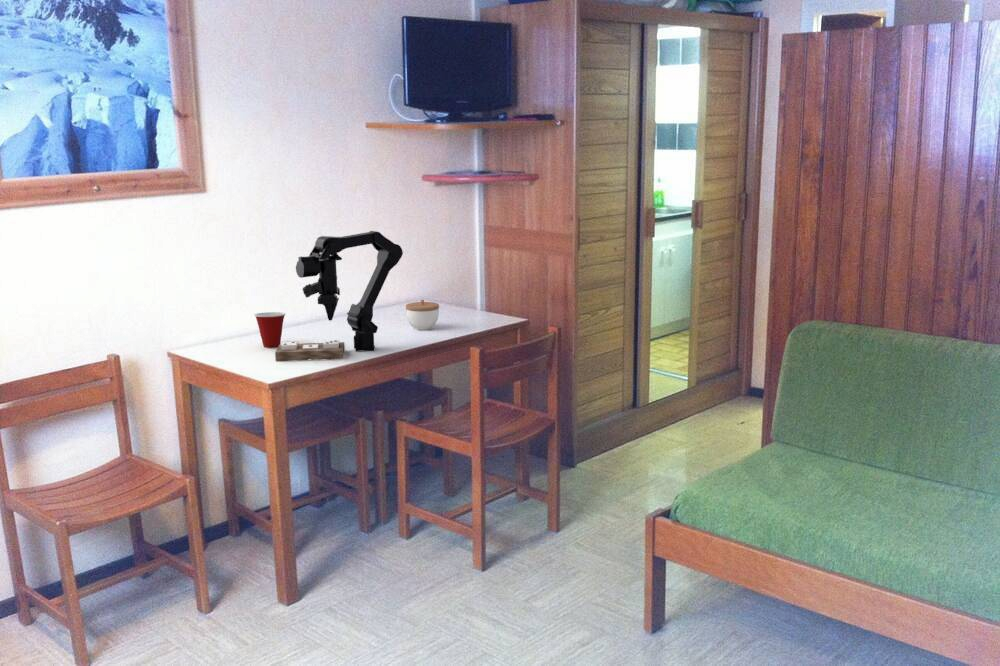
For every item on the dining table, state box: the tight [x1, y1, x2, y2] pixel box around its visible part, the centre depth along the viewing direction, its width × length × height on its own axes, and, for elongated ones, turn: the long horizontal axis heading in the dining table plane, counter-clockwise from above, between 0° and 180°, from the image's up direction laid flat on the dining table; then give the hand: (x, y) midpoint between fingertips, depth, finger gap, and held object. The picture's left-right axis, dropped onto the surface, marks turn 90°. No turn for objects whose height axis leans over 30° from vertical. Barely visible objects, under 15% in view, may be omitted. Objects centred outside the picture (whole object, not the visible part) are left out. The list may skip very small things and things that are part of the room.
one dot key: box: [302, 344, 319, 349], centre depth 321 cm, size 5×5×2 cm
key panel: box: [274, 341, 346, 362], centre depth 321 cm, size 22×12×3 cm, turn 96°
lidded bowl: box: [405, 299, 440, 331], centre depth 362 cm, size 13×13×11 cm
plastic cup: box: [253, 311, 286, 349], centre depth 335 cm, size 11×11×12 cm
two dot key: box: [280, 341, 299, 350], centre depth 320 cm, size 5×5×2 cm
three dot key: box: [322, 339, 340, 349], centre depth 322 cm, size 5×5×2 cm
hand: (330, 320), depth 320 cm, fingers closed
